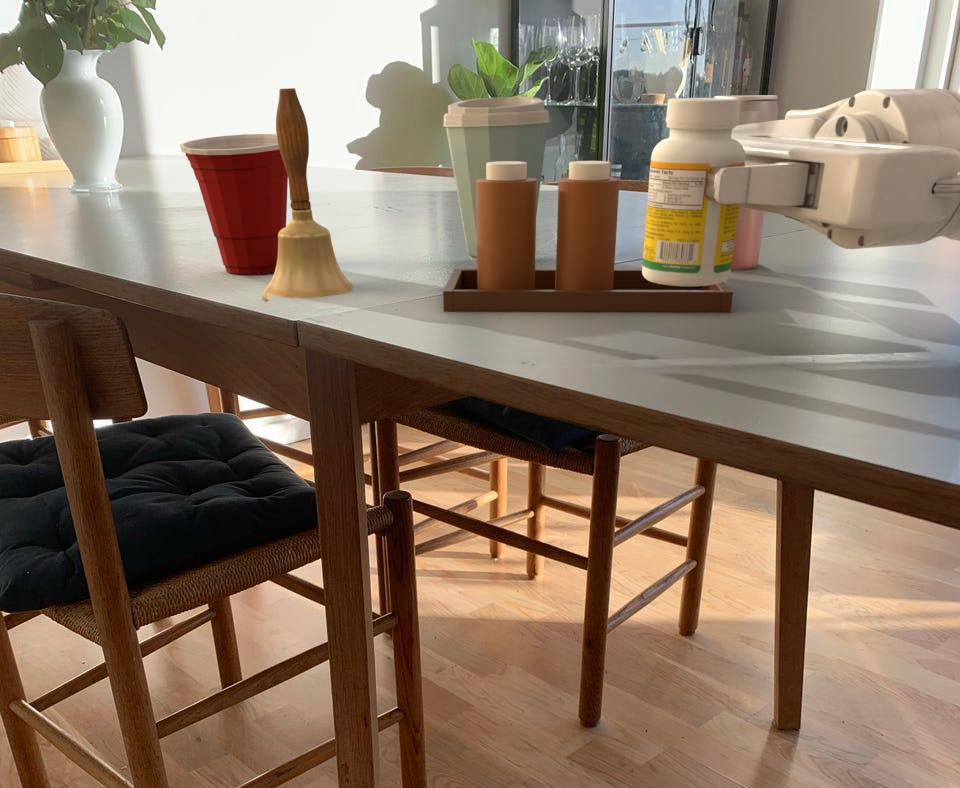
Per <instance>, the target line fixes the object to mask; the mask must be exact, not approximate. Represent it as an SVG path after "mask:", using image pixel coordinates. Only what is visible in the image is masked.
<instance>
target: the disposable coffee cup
mask: <svg viewBox="0 0 960 788" xmlns="http://www.w3.org/2000/svg"><path fill="white" fill-rule="evenodd" d="M447 110H448V111H447V112H446V113H444V115H443V125H442V126H443V127H445V129H446V136H447V142H448V147H449V148H448V149H449V153H450V159H451V164H452V165H451V166H452V171H453V175H454V176H453V177H454V182H455V183H454V184H455V187H456V193H457V201H458V205H459V211H460V218H461V224H462V229H463V236H464V239H465V240H464V241H465V245H466V252H467V255H468V256H469V259H470V261H471V262H477V194H476V180H477V179H481V178H486V164H487V163H488V162H497V161H519V162H526V163H527V178H534V179H537V198H536V216H537V214H538V205H539V199H540V189H541V181H542V174H543V167H544V158H545V149H546V142H547V134H548V126H549V123H551V120H550V111H549V110H548V109H545V101H543V100H542V99H541V98H540V97H532V96H530V97H529V96H503V97H502V96H499V97H479V98H473V99H466V100H459V101H457V102H453V103H450V104H448V105H447Z"/></svg>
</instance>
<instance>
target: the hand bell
mask: <svg viewBox="0 0 960 788" xmlns="http://www.w3.org/2000/svg"><path fill="white" fill-rule="evenodd" d="M278 94H279V95H278V103H277V109H276V115H275V131H276V132H275V133H276V134H277V140H278V146H279V150H280V153H281V156H282V159H283V162H284V164H285V167H286V170H287V174H288V188H289V189H288V190H289V200H290V205H289V206H290V209H291V221H290V223H289V224H288V225H287V224H286V227H285V228H283V229H282V230H280V231H279V234H278V259H277V265H276V269H275V272H273V275H272V278H271V280H270V282H269V284H267V285H266V287H265V288H264V290H263V292H262V298H263V299H264V300H266V301H269V300H270V299H271V297H272V296H273V297H279V298H290V299H291V298H292V299H309V298H311V299H312V298H324V297H332V296H339V295H343V294H347V293H351V292H352V291H354V290H355V288H356V287H355V285H354V284H353V283H352V282H350V280H349V279H348V278H347V277H346V276H345V274H344V273H343V271H342V270H341V269H342V268H341V267H340V265H339V263H338V261H337V257H336V254H335V251H334V246H333V242H332V237H331V233H330V230H329V229H328V228H326V226H323V225H321V224H319V223H318V222H317V221H315V219H314V217H313V210H312V204H311V201H310V193H309V185H308V177H307V173H308V172H307V171H308V170H307V169H308V161H309V156H310V138H309V127H308V123H307V119H306V115H305V112H304V110H303V107H302V105H301V102H300V100H299V97H298V94H297V90H296V88H294V87H293V88H290V87H289V88H279V92H278Z"/></svg>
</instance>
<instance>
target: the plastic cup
mask: <svg viewBox="0 0 960 788" xmlns="http://www.w3.org/2000/svg"><path fill="white" fill-rule="evenodd" d="M179 148H180V151H181V152H182V153H184V155H185V157H186V159H187V161H189V164H190V168H191V169H192V170H193V174H194V177H195V179H196V181H197V183H198V186H199V189H200V193H201V196H202V199H203V203H204V207H205V210H206V214H207V217H208V220H209V223H210V226H211V230H212V233H213V237H214V238H215V239H216V242H217V247H218V250H219V254H220V258H221V260H222V264H223V266H224V268H225V272H227V273H230V274H234V275H258V274H259V275H263V274H268V273H269V274H270V273H271V274H272V273H275V269H276V265H277V259H278V234H279V231H280V230H282V229H283V228H285V227H286V226H287V214H288V213H287V212H288V211H287V210H288V188H289V179H288V174H287V170H286V167H285V164H284V162H283V159H282V156H281V153H280V150H279V146H278V140H277V133H249V134H248V133H247V134H244V133H243V134H230V135H229V134H228V135H220V136H219V135H218V136H212V137H211V136H210V137H204V138H198V139H193V140H188V141H186V142H183V143H181V144H179Z"/></svg>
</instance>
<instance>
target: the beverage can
mask: <svg viewBox="0 0 960 788" xmlns="http://www.w3.org/2000/svg"><path fill="white" fill-rule="evenodd" d="M713 98H732V99H740V110H739V122H738V123H737V125H736V126H738V125H745V124H752V123H760V122H767V121H776V120H778V117H779V108H778V107H779V106H778V95H770V94H769V95H768V94H767V95H764V94H763V95H761V94H760V95H758V94H757V95H755V94H754V95H749V94H748V95H715V96H714V97H713ZM765 213H766V211H761V210H756V209H751V208H746V207H740V206H739V211H738V219H737V227H736V235H735V242H734V250H733V257H732V265H731V272H732V271H734V272H735V271H749V270H754V269H756V268H757V267H758V265H759V258H760V252H761V251H760V250H761V243H762V236H763V229H764V221H765V215H766V214H765Z"/></svg>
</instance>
